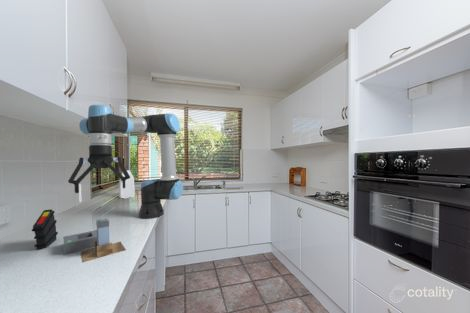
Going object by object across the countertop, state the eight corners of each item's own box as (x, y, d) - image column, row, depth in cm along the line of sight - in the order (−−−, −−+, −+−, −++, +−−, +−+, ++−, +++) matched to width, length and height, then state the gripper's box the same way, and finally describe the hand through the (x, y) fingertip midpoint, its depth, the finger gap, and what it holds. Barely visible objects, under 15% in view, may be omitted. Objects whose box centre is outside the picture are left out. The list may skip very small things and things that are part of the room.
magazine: (60, 233, 100) (53, 208, 94) (49, 256, 89) (40, 229, 83) (50, 234, 99) (43, 209, 93) (38, 257, 87) (28, 231, 81)
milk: (132, 195, 209) (131, 169, 209) (135, 197, 200) (134, 170, 200) (119, 197, 202) (118, 170, 201) (121, 198, 192) (120, 171, 192)
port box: (103, 239, 95) (102, 228, 95) (106, 246, 88) (106, 234, 88) (63, 248, 86) (63, 236, 86) (63, 257, 79) (63, 243, 79)
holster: (120, 243, 90) (120, 233, 90) (126, 252, 81) (126, 241, 81) (80, 254, 81) (80, 242, 81) (82, 265, 72) (82, 252, 72)
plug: (107, 247, 84) (106, 218, 84) (109, 251, 80) (109, 220, 80) (97, 250, 82) (96, 220, 82) (98, 254, 78) (98, 223, 78)
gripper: (58, 143, 70) (60, 205, 70) (137, 145, 86) (138, 195, 86) (59, 145, 76) (60, 202, 76) (132, 146, 92) (133, 193, 92)
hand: (101, 199), depth 81 cm, fingers open, 13 cm apart
